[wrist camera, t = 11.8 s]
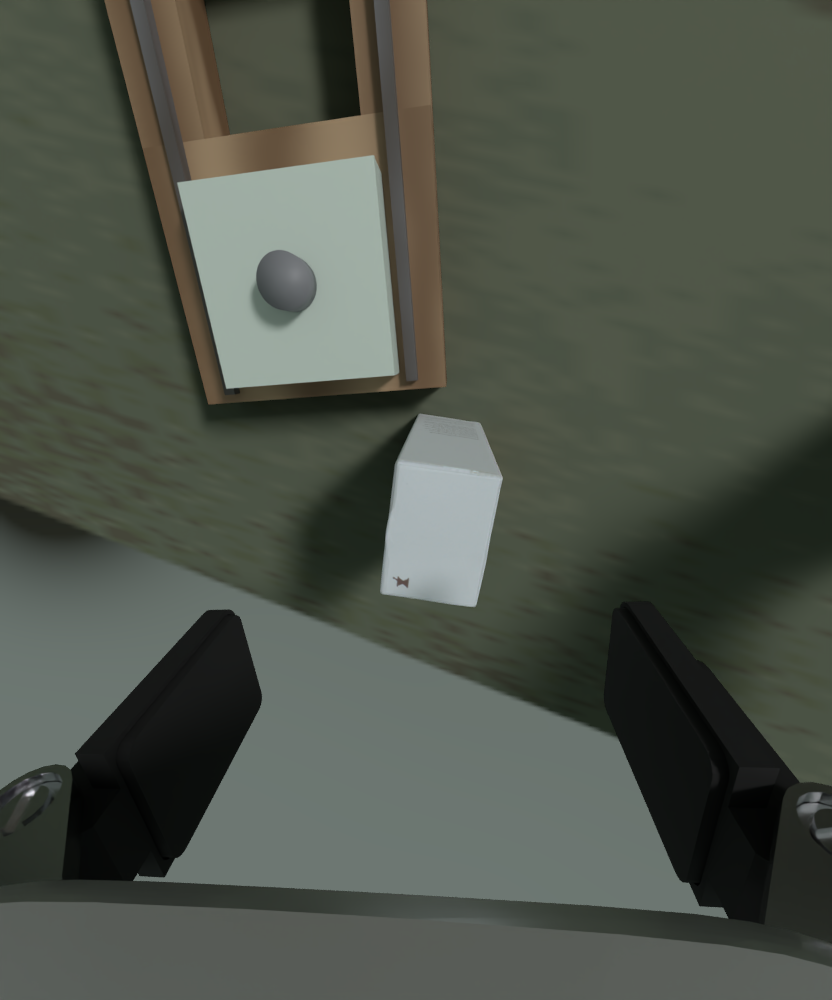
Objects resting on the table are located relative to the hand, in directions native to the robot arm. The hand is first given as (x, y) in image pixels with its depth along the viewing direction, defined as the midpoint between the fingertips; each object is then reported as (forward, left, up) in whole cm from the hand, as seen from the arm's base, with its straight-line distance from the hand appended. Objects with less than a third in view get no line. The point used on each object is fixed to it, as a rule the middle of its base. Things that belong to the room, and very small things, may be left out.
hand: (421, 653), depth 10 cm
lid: (+6, -10, -15) cm, 19 cm away
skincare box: (0, 0, -18) cm, 18 cm away
